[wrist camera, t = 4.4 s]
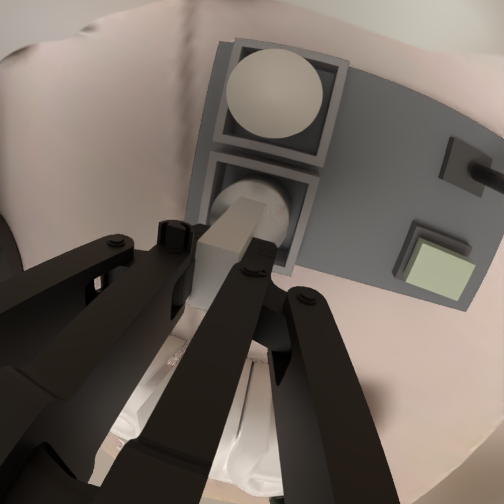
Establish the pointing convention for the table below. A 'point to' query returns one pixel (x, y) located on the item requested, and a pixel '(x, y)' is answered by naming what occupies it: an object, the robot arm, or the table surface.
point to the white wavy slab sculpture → (236, 429)
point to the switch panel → (359, 176)
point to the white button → (274, 93)
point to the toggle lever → (487, 177)
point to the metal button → (261, 191)
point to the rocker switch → (438, 269)
